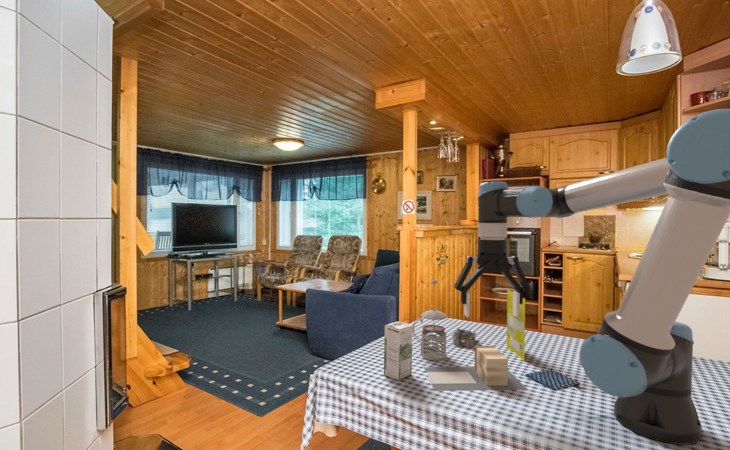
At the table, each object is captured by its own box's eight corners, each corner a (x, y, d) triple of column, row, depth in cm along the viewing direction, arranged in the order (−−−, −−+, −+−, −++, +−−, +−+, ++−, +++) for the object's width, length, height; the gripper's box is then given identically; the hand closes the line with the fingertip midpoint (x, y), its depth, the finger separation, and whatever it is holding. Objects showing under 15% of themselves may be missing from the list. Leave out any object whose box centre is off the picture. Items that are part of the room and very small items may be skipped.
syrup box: (396, 369, 113) (396, 320, 112) (412, 375, 108) (412, 324, 108) (383, 375, 109) (383, 324, 108) (399, 381, 104) (399, 328, 104)
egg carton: (472, 349, 131) (472, 337, 131) (450, 345, 134) (450, 334, 134) (477, 340, 140) (478, 329, 140) (457, 337, 144) (457, 326, 144)
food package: (526, 364, 117) (526, 299, 117) (522, 364, 117) (523, 299, 117) (508, 347, 132) (509, 289, 132) (505, 346, 133) (505, 289, 132)
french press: (447, 365, 115) (448, 283, 115) (409, 361, 119) (410, 281, 119) (451, 354, 125) (451, 278, 124) (415, 350, 128) (416, 276, 128)
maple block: (507, 385, 100) (507, 358, 100) (486, 385, 100) (487, 359, 100) (493, 370, 110) (493, 345, 110) (474, 370, 110) (474, 346, 110)
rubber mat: (527, 392, 98) (527, 389, 98) (434, 393, 97) (434, 390, 97) (504, 369, 113) (504, 366, 113) (423, 369, 112) (423, 366, 112)
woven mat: (521, 380, 107) (521, 373, 107) (549, 374, 111) (549, 367, 111) (553, 396, 97) (553, 388, 97) (582, 389, 101) (582, 381, 101)
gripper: (531, 238, 109) (530, 312, 109) (443, 237, 108) (443, 312, 109) (543, 239, 101) (542, 319, 102) (450, 239, 101) (449, 319, 101)
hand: (491, 315), depth 105 cm, fingers open, 13 cm apart
